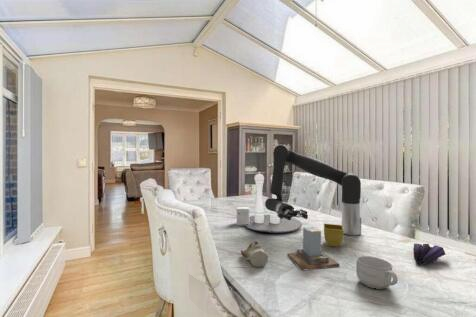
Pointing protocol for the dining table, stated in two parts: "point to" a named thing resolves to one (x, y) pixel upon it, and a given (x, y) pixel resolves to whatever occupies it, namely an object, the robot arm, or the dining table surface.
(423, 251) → the crystal
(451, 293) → the dining table surface
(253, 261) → the ceramic sculpture
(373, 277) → the teacup
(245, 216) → the small box
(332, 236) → the flower pot
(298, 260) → the keyed seat
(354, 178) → the robot arm
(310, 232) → the keyed plug
